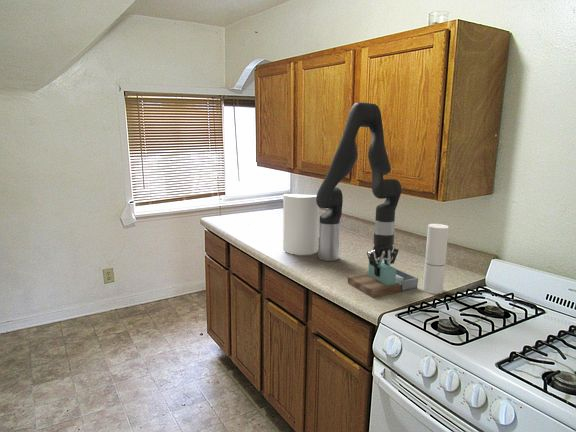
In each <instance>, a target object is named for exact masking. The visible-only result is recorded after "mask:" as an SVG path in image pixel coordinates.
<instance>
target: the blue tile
mask: <svg viewBox="0 0 576 432" xmlns="http://www.w3.org/2000/svg"><path fill="white" fill-rule="evenodd" d="M403 279H404V278H403V277H401V276H399V275H396V281H395V284H396V283H401V281H403Z"/></svg>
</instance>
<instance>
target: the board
mask: <svg viewBox="0 0 576 432" xmlns="http://www.w3.org/2000/svg"><path fill="white" fill-rule="evenodd" d="M347 284H349V285H350V286H352V287H353V288H356V289H357V290H359V291H361V292H363V294H364V293H365V294H366V295H367V296H370V297H371V298H372V299H373V298H378V297H384V296H387V295H392V294H396V293H397V294H398V293H401V292H402V291H401V285H400V284H398V283H396V284H394V285H389V286H388V285H386V284H384V283H382V282H380V281H378V280H376V279H374V278H372V277H370V276H368V272H367V273H362V274H357V275H350V276H347Z"/></svg>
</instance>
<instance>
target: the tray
mask: <svg viewBox="0 0 576 432" xmlns="http://www.w3.org/2000/svg"><path fill="white" fill-rule="evenodd" d="M390 266H391V267H393V268H395V269H396V275H399V276H401V277H403V278H404V279H403V281H401V283H398V284H400V285H401V292H406V291H410V290H417V289H418V285H419V283H418V282H419V278H418V277H416V276H414V275H412V274H409V273H408V272H405V271H403V270H400V269H399V268H396V267H394V266H392V265H390Z"/></svg>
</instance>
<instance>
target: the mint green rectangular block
mask: <svg viewBox="0 0 576 432" xmlns="http://www.w3.org/2000/svg"><path fill="white" fill-rule="evenodd" d="M377 263H378V262H377ZM391 266H392V265H390V266H389V265H386V264H384V262H383V261H382V262H381V265H380V276H379V277H377V276H375V274H374V266H372V265H370V262H369V261H368V271H367V273H368V276H370V277H372V278H374V279H376V280H378V281H380V282H382V283H384V284H386V285H388V286H389V285H394V284H395V281H396V269H397V268H396V267H394V266H392V267H391ZM393 267H394V268H393ZM395 268H396V269H395Z"/></svg>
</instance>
